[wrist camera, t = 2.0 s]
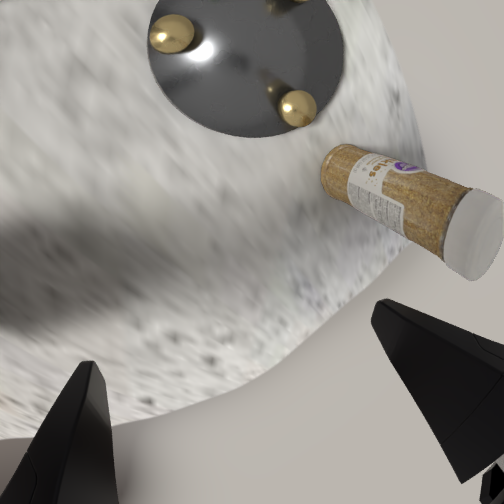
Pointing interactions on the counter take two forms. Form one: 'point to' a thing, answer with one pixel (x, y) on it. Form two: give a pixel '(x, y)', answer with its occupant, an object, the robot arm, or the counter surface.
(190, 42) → the tribrach plate
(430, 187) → the sprinkles bottle
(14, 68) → the counter surface
